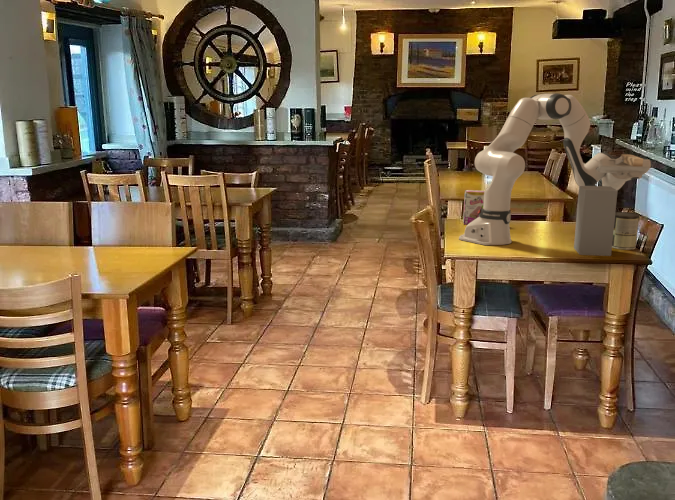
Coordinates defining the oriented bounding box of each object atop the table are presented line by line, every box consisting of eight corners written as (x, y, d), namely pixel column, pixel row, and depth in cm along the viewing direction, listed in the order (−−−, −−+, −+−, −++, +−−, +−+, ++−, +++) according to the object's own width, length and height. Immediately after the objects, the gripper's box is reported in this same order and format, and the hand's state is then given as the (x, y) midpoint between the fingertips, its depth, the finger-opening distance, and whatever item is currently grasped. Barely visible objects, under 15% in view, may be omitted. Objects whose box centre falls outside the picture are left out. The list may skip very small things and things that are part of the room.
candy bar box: (463, 224, 325) (465, 191, 321) (462, 222, 330) (464, 189, 326) (487, 225, 324) (489, 191, 320) (485, 223, 329) (487, 190, 325)
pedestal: (611, 255, 264) (617, 190, 258) (579, 254, 266) (585, 189, 260) (604, 249, 276) (610, 186, 270) (573, 247, 278) (579, 185, 272)
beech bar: (642, 166, 262) (643, 158, 262) (633, 166, 263) (633, 158, 262) (629, 161, 281) (630, 154, 280) (620, 161, 281) (621, 154, 280)
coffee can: (603, 245, 282) (607, 212, 279) (622, 243, 286) (626, 211, 283) (622, 250, 273) (626, 216, 270) (641, 248, 277) (645, 215, 274)
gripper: (594, 164, 291) (602, 150, 278) (644, 165, 288) (654, 151, 275) (595, 177, 289) (602, 164, 276) (644, 178, 286) (655, 165, 273)
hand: (629, 157), depth 275 cm, fingers closed on beech bar, 3 cm apart
